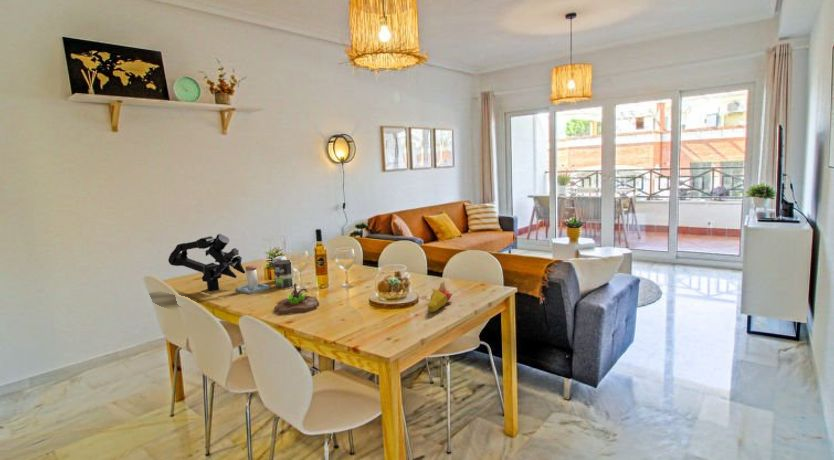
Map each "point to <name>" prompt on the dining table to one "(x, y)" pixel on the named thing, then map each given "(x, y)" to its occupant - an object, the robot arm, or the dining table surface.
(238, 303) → the dining table surface
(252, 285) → the shaker
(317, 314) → the dining table surface
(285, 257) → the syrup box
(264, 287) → the tray
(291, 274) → the coffee can
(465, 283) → the dining table surface
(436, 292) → the flower bouquet
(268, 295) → the dining table surface
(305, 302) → the plant
